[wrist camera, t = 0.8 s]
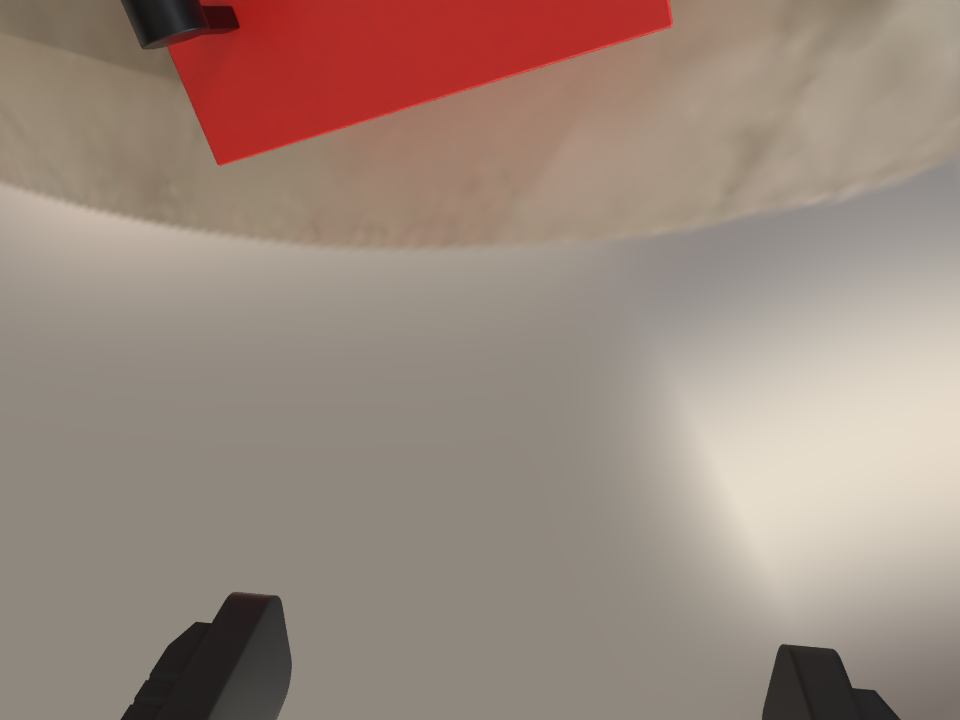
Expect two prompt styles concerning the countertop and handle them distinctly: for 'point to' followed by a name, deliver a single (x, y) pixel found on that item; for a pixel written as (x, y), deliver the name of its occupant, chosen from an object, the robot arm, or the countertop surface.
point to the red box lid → (361, 55)
